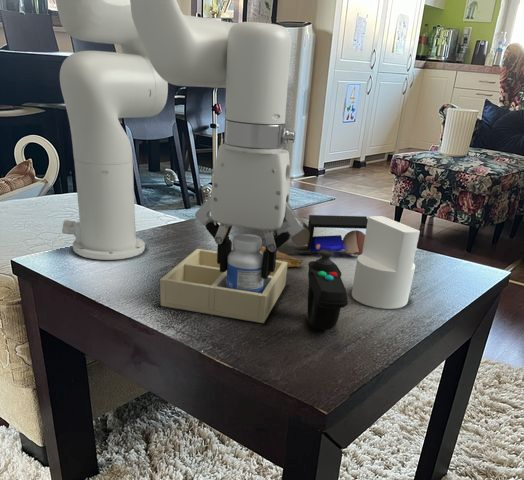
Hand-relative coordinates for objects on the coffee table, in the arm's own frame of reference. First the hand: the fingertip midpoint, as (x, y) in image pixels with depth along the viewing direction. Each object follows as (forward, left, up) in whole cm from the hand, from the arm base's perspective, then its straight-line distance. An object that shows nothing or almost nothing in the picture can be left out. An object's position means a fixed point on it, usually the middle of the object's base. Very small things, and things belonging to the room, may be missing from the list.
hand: (245, 271), depth 76 cm
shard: (-2, +23, -6) cm, 24 cm away
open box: (-4, +4, -6) cm, 8 cm away
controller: (+12, -3, -6) cm, 14 cm away
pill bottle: (0, 0, -5) cm, 5 cm away
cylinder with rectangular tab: (+19, +13, -6) cm, 24 cm away
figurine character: (+8, +32, -6) cm, 33 cm away
